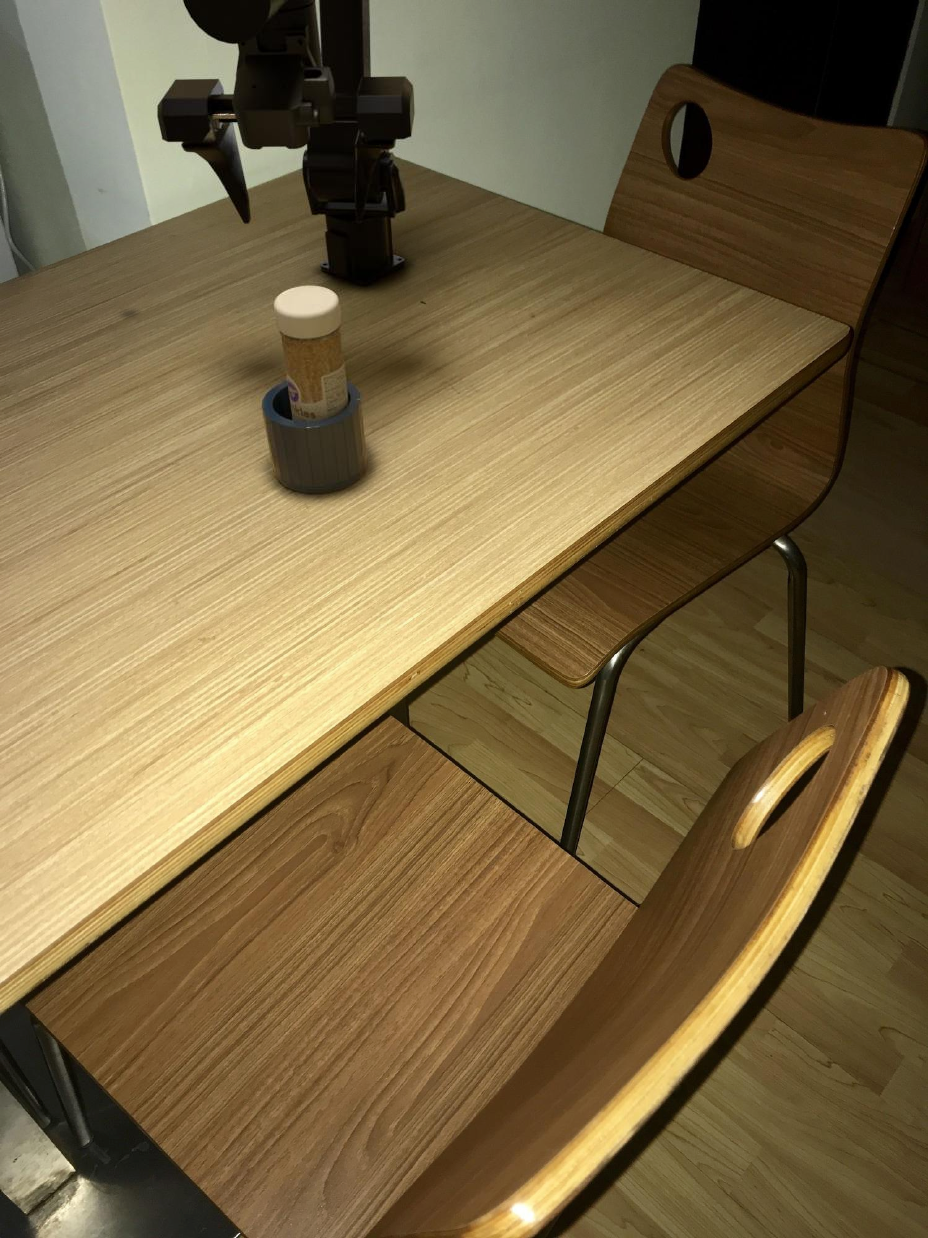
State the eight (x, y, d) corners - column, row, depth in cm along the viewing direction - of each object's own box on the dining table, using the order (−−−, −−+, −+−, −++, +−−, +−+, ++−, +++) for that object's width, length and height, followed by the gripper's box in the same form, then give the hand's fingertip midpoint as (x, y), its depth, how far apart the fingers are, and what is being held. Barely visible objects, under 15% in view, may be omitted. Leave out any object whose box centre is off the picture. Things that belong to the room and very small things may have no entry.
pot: (319, 428, 82) (310, 363, 78) (386, 460, 79) (381, 394, 75) (254, 470, 78) (241, 405, 74) (321, 506, 75) (312, 439, 71)
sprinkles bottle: (286, 460, 78) (258, 300, 69) (327, 434, 81) (306, 276, 71) (326, 482, 76) (304, 320, 67) (368, 455, 78) (352, 295, 69)
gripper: (113, 36, 64) (167, 267, 75) (399, 32, 64) (412, 264, 75) (153, -8, 72) (197, 206, 83) (409, -12, 72) (419, 204, 83)
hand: (303, 221), depth 81 cm, fingers open, 9 cm apart
